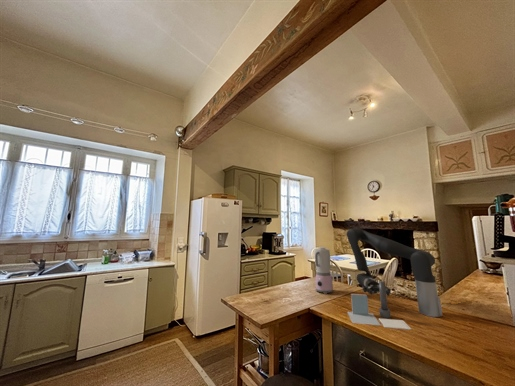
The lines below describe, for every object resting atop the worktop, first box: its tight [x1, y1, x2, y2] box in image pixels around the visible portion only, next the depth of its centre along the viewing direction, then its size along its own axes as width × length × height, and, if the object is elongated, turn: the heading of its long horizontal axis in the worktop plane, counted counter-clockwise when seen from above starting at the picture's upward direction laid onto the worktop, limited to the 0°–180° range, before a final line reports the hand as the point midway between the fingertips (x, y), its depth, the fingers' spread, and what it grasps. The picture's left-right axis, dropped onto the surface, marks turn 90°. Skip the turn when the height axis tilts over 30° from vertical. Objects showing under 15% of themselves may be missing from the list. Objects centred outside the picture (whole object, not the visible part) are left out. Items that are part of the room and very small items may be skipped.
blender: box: [314, 246, 334, 295], centre depth 156 cm, size 16×12×32 cm
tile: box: [350, 293, 370, 315], centre depth 114 cm, size 8×2×10 cm, turn 76°
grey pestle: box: [378, 280, 392, 319], centre depth 112 cm, size 5×5×18 cm
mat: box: [347, 311, 381, 326], centre depth 109 cm, size 13×14×1 cm
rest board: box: [378, 318, 412, 331], centre depth 101 cm, size 11×9×1 cm
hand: (379, 293), depth 117 cm, fingers open, 8 cm apart
